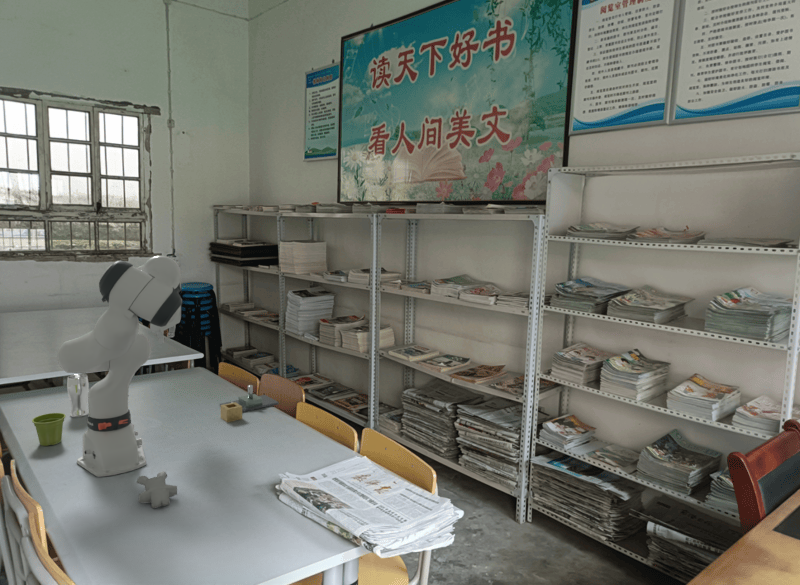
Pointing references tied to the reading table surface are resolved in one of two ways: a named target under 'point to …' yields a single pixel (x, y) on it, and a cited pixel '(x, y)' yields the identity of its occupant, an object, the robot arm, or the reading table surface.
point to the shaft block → (253, 401)
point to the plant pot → (49, 428)
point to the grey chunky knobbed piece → (156, 490)
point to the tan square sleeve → (231, 412)
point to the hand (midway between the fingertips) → (166, 339)
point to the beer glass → (78, 394)
